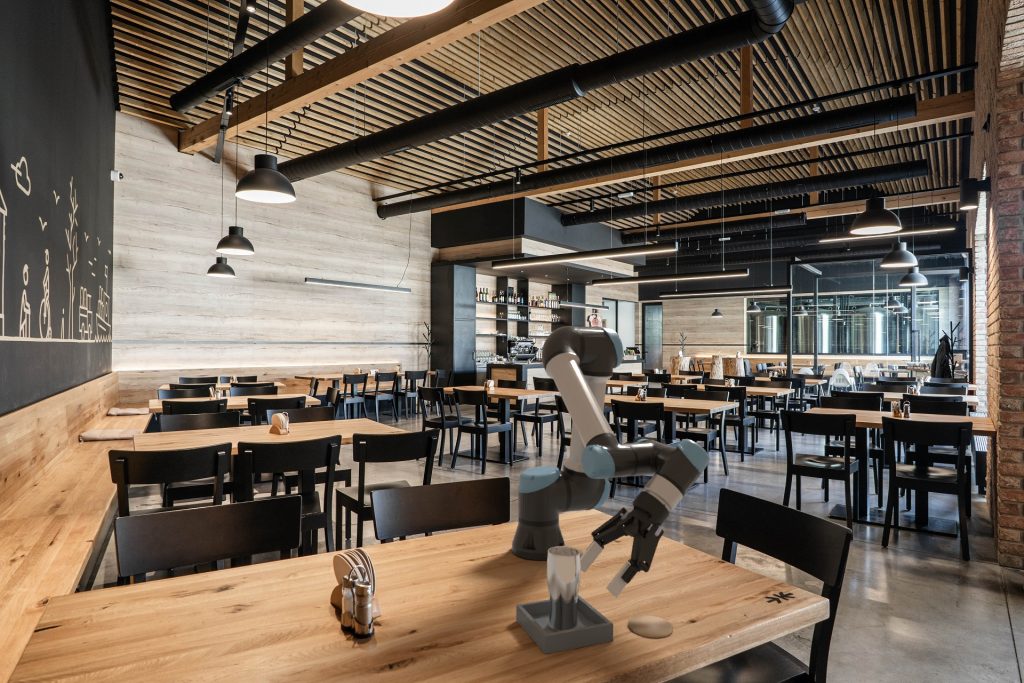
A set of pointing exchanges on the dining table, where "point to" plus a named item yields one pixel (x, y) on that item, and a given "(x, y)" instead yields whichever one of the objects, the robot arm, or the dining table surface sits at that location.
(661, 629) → the coaster
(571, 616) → the beer glass
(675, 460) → the robot arm
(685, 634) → the dining table surface
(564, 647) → the tray
